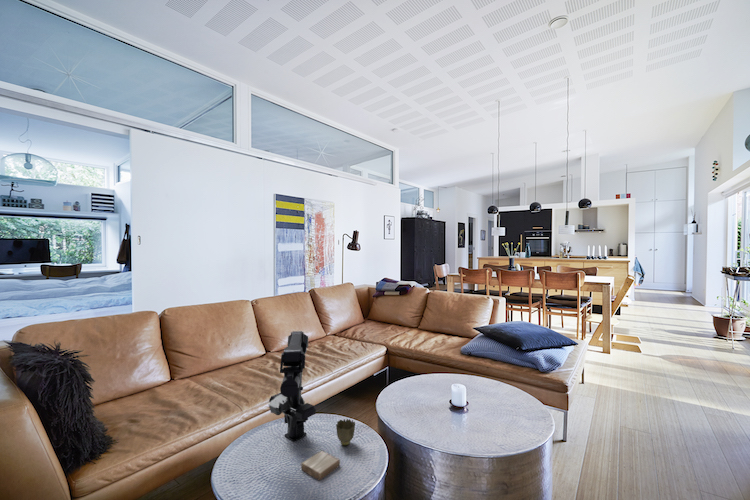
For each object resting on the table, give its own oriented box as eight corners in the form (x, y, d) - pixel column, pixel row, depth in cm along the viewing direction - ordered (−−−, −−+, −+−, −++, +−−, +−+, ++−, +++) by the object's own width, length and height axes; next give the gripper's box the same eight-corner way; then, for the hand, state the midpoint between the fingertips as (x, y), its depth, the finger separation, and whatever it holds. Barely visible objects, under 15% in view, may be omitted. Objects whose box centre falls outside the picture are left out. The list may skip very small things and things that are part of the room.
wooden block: (301, 463, 113) (319, 473, 107) (321, 450, 120) (339, 459, 115) (301, 470, 113) (319, 481, 107) (321, 457, 120) (339, 467, 115)
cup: (351, 450, 124) (352, 429, 124) (333, 448, 125) (333, 427, 126) (356, 440, 131) (357, 419, 131) (339, 437, 133) (339, 417, 133)
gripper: (256, 385, 115) (255, 430, 115) (291, 400, 104) (290, 449, 104) (282, 376, 124) (281, 418, 124) (317, 388, 113) (316, 434, 113)
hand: (291, 429), depth 116 cm, fingers closed
